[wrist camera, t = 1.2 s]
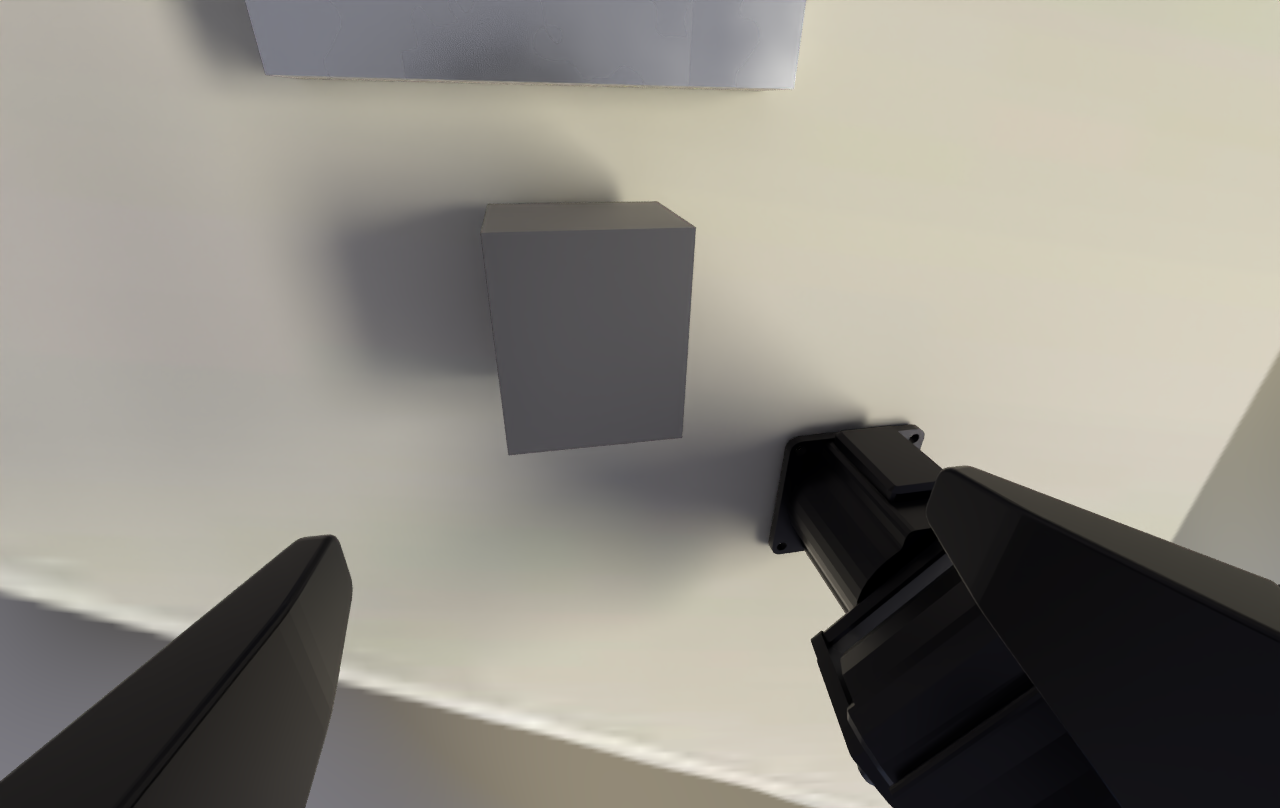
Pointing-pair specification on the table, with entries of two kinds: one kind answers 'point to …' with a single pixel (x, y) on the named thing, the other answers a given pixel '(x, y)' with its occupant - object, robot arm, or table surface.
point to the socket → (535, 41)
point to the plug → (589, 321)
